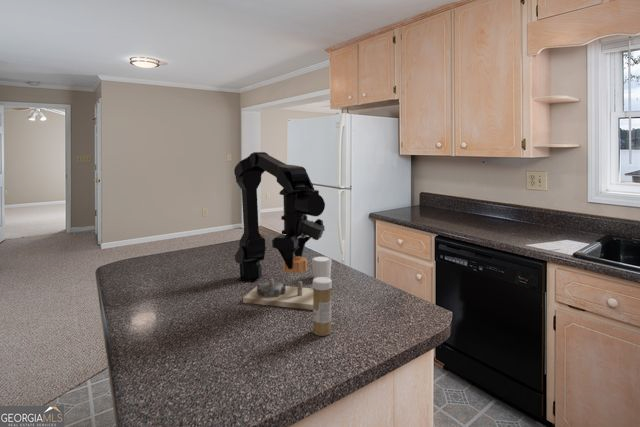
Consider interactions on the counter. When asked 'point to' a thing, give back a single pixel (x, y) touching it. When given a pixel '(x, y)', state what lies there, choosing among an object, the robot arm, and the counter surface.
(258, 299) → the gear board
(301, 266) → the orange gear
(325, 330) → the sprinkles bottle
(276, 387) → the counter surface
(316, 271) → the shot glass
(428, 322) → the counter surface
